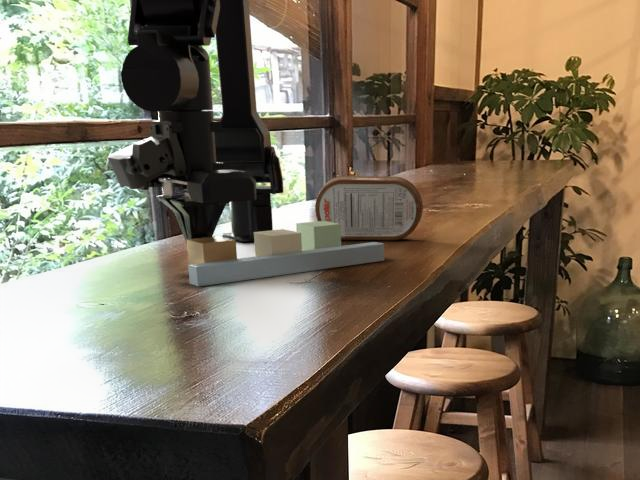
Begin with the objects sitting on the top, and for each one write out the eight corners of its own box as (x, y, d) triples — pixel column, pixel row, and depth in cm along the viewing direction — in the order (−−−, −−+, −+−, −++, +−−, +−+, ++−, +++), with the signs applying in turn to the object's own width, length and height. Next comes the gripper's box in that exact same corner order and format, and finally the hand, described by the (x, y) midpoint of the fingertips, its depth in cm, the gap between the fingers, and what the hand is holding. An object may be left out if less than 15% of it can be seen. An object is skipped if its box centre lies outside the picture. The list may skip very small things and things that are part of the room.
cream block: (255, 267, 95) (253, 232, 93) (284, 263, 97) (283, 229, 95) (273, 272, 92) (271, 235, 90) (302, 268, 94) (301, 232, 93)
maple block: (189, 276, 90) (186, 239, 89) (221, 272, 92) (218, 236, 91) (206, 281, 87) (202, 243, 86) (238, 277, 90) (235, 240, 88)
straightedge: (189, 283, 86) (187, 264, 85) (374, 258, 100) (374, 241, 99) (198, 286, 85) (196, 267, 84) (384, 260, 98) (384, 243, 98)
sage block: (297, 256, 102) (296, 223, 100) (323, 253, 104) (322, 220, 102) (315, 260, 99) (313, 226, 97) (341, 257, 101) (340, 223, 99)
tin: (422, 238, 115) (423, 175, 111) (421, 241, 112) (422, 177, 108) (317, 237, 116) (315, 175, 113) (314, 241, 113) (312, 177, 110)
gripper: (79, 109, 88) (99, 256, 94) (149, 112, 74) (166, 284, 81) (175, 109, 94) (187, 247, 100) (255, 112, 80) (262, 271, 87)
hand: (198, 261), depth 92 cm, fingers closed
